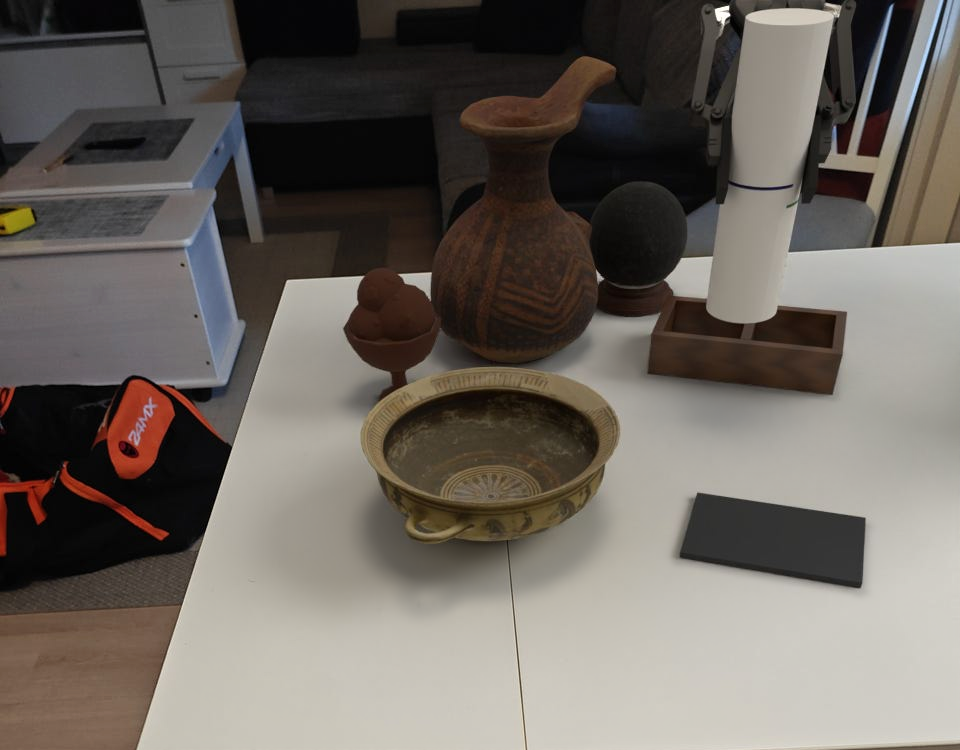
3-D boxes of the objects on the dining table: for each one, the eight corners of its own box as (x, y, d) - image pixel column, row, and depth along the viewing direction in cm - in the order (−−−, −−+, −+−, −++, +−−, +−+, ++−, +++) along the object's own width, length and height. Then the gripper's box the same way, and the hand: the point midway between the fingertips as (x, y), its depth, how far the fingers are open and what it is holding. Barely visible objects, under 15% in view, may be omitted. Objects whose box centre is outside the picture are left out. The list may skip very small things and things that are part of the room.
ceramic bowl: (545, 641, 74) (546, 549, 67) (311, 572, 83) (290, 483, 76) (654, 460, 93) (663, 373, 86) (455, 418, 102) (449, 335, 95)
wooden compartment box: (837, 350, 109) (847, 311, 106) (832, 394, 101) (842, 354, 98) (664, 332, 115) (668, 295, 111) (647, 373, 107) (650, 334, 104)
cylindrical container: (693, 301, 92) (729, 14, 75) (751, 288, 94) (800, 5, 77) (729, 328, 88) (777, 28, 70) (791, 314, 89) (852, 18, 72)
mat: (864, 522, 84) (865, 517, 84) (860, 588, 77) (862, 582, 77) (696, 497, 88) (697, 492, 88) (679, 557, 82) (680, 552, 81)
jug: (591, 384, 106) (605, 101, 85) (418, 376, 109) (390, 102, 88) (605, 307, 121) (620, 51, 100) (453, 302, 124) (436, 53, 103)
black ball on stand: (684, 282, 126) (697, 168, 115) (675, 322, 117) (689, 203, 106) (593, 277, 128) (597, 166, 118) (577, 316, 119) (581, 199, 109)
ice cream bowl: (345, 420, 102) (324, 293, 92) (371, 374, 110) (353, 252, 100) (434, 425, 101) (422, 296, 90) (453, 378, 108) (444, 254, 98)
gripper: (879, -26, 83) (866, 216, 82) (664, -18, 85) (651, 217, 85) (908, -93, 75) (894, 172, 75) (671, -82, 78) (657, 175, 77)
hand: (765, 196), depth 80 cm, fingers closed on cylindrical container, 7 cm apart
